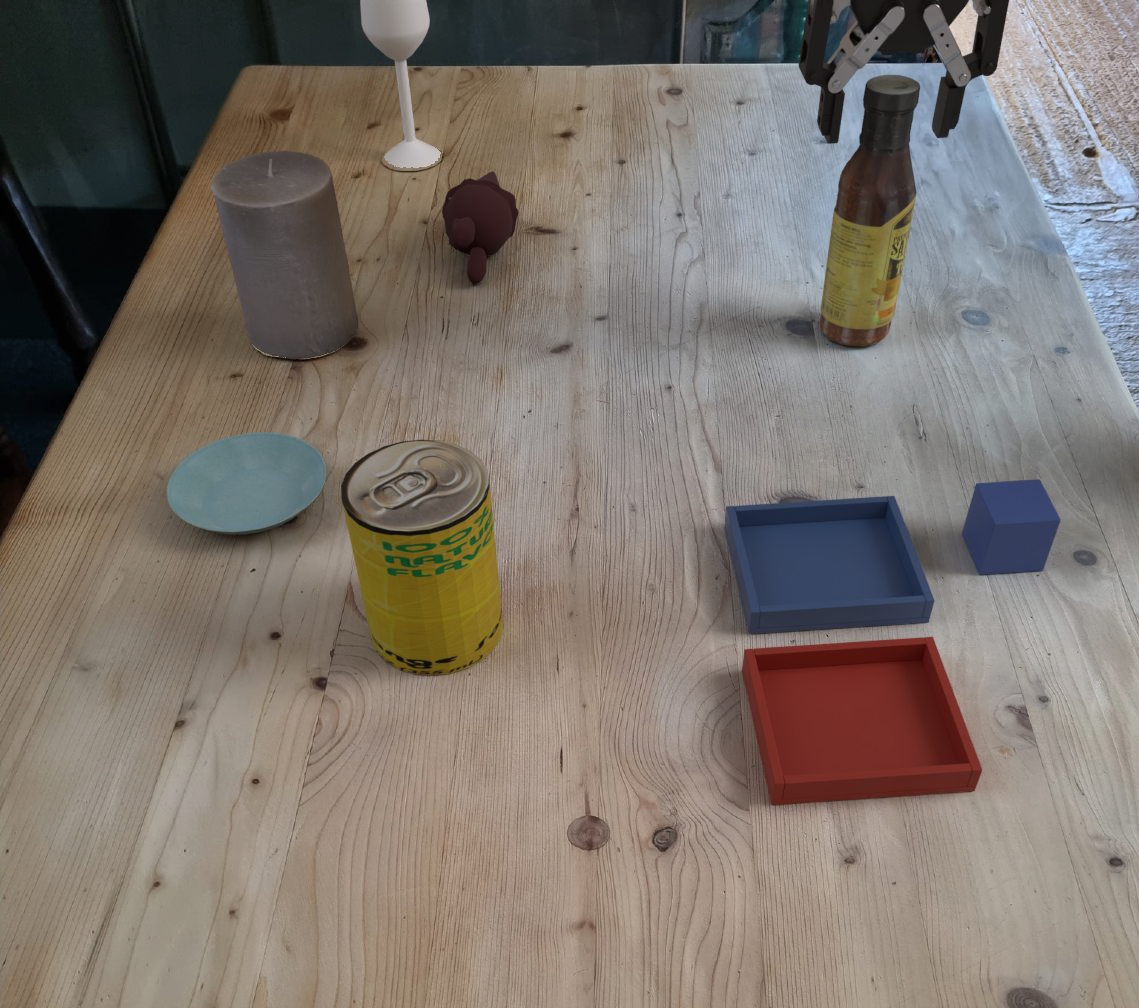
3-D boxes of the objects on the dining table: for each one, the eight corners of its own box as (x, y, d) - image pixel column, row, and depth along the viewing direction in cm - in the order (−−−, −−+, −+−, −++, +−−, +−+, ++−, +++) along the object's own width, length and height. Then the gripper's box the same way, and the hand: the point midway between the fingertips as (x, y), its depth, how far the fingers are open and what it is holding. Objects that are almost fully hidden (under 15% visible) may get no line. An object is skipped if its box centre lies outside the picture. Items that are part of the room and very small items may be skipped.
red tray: (926, 658, 79) (933, 636, 78) (975, 791, 72) (982, 769, 71) (741, 670, 79) (744, 648, 78) (771, 805, 72) (774, 784, 70)
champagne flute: (451, 146, 131) (425, -120, 113) (433, 174, 127) (402, -98, 109) (392, 142, 132) (357, -123, 114) (372, 169, 128) (332, -101, 110)
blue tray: (889, 517, 89) (894, 495, 87) (929, 622, 82) (935, 600, 80) (724, 528, 89) (726, 505, 87) (748, 634, 81) (751, 612, 80)
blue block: (1023, 530, 88) (1040, 478, 84) (1043, 571, 85) (1061, 519, 81) (961, 533, 87) (975, 482, 84) (979, 575, 85) (994, 524, 81)
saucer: (326, 548, 88) (321, 523, 87) (163, 559, 88) (154, 534, 86) (335, 451, 96) (330, 427, 94) (185, 461, 96) (177, 437, 94)
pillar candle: (329, 293, 112) (297, 123, 100) (378, 339, 106) (350, 165, 95) (231, 326, 109) (186, 154, 97) (276, 375, 103) (234, 199, 92)
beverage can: (530, 625, 82) (520, 480, 73) (430, 696, 78) (406, 552, 69) (443, 566, 87) (422, 422, 78) (344, 630, 83) (310, 486, 74)
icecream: (444, 146, 117) (413, 235, 108) (516, 129, 114) (490, 218, 106) (469, 213, 122) (441, 303, 113) (539, 198, 120) (515, 288, 111)
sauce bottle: (890, 353, 103) (938, 105, 88) (815, 348, 104) (850, 101, 89) (890, 313, 107) (936, 69, 92) (819, 308, 108) (852, 66, 93)
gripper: (833, -95, 78) (802, 163, 90) (1052, -106, 78) (991, 153, 91) (810, -129, 83) (783, 121, 95) (1016, -139, 83) (963, 111, 96)
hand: (885, 136), depth 93 cm, fingers open, 8 cm apart
